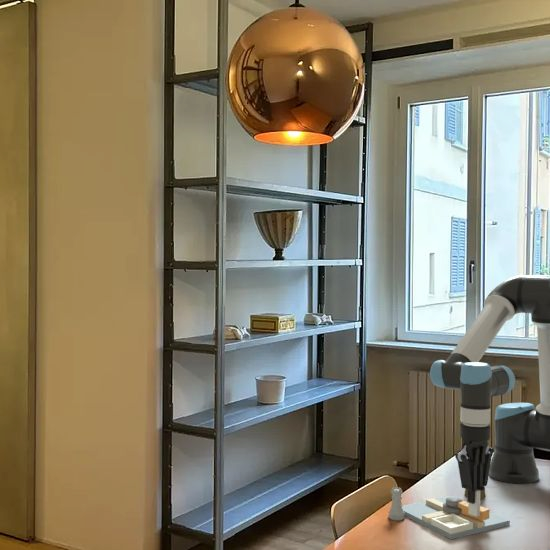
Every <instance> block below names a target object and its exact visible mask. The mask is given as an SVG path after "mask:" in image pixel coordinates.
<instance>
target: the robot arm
mask: <svg viewBox="0 0 550 550" xmlns="http://www.w3.org/2000/svg"><path fill="white" fill-rule="evenodd" d="M522 313H524V314H530V315H531V316H530V317H531V322H532V323H533V324H534V325H535V326H536V329H537V331H536V332H537V333H536V334H537V350H538V352H537V353H538V354H537V355H538V375H539V396H540V403H539V404H537V405H536V407H535V405H534V404H533V403H531V402H509V403H503V404H499V405H498V406H496V408H495V412H494V414H495V415H494V419H493V420H494V448H493V447H490V446H489V442H488V441H490V439H491V425H490V423H492V417H491V415H492V414H491V412H492V410H491V409H492V407H491V406H492V405H491V402H492V401H491V400H492V399H491V398H493V397H497V396H502V395H506V393H510V392H511V391H513V389H514V387H515V385H516V376H515V374H514V372H513V370H512V369H511V368H510V367H507V366H505V365H493V366H491V365H490V364H489V363H487V362H480V361H481V360H482V358H483V357H484V354H485V353H486V351H488V348H489V347H490V346H491V344H492V343H493V341H494V340H495V338H496V336H497V335H498V333H499V332H500V331H501V329H502V328H503V326H504V325H505V323H506V322H507V321H510V320H511V319H513V318H514V316H515V315H517V314H522ZM457 343H458V344H457V345H456V346H455V348H454V349H453V351H452V352H451V353H450V355H449V356H448V357H447V359H446V360H444V359H438V360H436V361H434V362H433V363H432V365H431V367H430V371H429V378H430V380H431V383H432V384H433V385H434V386H436V387H439V388H443V389H446V390H456V391H457V390H458V391H460V416H459V417H460V419H459V421H460V424H459V436H460V438H461V439H462V445H461V450H460V452H459V453H458V452H456V453H455V454H454V457H455V459H456V461H457V466H458V472H459V478H460V485H461V488H462V489H464V490H465V489H467V490H468V498H467V502H468V514H470V515H473V516H476V517H478V516H480V506H481V501H482V499H481V490H483V491H484V490H485V491H486V486H487V485H488V482H489V481H488V480H489V477H490V478H492V479H494V480H497V481H501V482H505V483H511V484H532V483H535V482H537V481H539V478H540V471H539V469H538V468H537V462H536V459H535V455H534V449H537V450H541V451H546V452H550V274H519V275H515V276H511V277H509V278H507V279H506V280H504V281H503V282H502V283H500V284H498V285H497V286H495V287H494V288H493V289H492V290H491V292H489V293H488V295H487V296H486V297H485V300H484V301H483V308H482V310H480V313H479V314H477V316H476V318H475V319H474V320H473V322H472V323H471V325H470V326H469V328H467V330H466V332H465V334H463V336H462V338H461V339H460V341H459V342H457ZM483 486H484V487H485V488H484V487H483Z"/></svg>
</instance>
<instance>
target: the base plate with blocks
mask: <svg viewBox="0 0 550 550" xmlns="http://www.w3.org/2000/svg"><path fill="white" fill-rule="evenodd" d="M448 497H455V496H454V495H447V496H443V497H438V498H433V497H432V498H428V499H427V498H426V500H424V501H418V502H414V503H409V504H404V505H402V508H403V511H404V513H405V514H404V516H405V518H408V519H411V520H412V521H414V522H417V523H418V524H419V525H422V526H424V527H427V528H428V529H430V530H432V531H434V532H436V533H438V534H440V535H442V536H444V537H446V538H448V539H450V540H454V539H458V538H462V537H467V536H470V535H474V534H478V533H479V534H480V533H482V532H486V531H487V532H488V531H491V530H495V529H500V528H503V527H506V526H510V520H509V519H507V518H505V517H504V516H500V515H498V514H496V513H494V512H492V511H489V519H487V520H484V521H482V520H479V519H476V518H473V517H470V516H467V515H464V514H461V512H462V509H461V508H453V507H449V506H447V505H446V498H448ZM462 500H463V499H462ZM463 501H464V502H467V500H463ZM449 514H455V515H457V516H459V517H462V518H464V519H466V520H468V521H470V522H472V523H473V529H470V530H466V531H462V532H458V533H453V534H450V533H448V532H446V531H444V530H442V529H440V528H438V527H436V526H434V525H432V524H431V518H435V517H440V516H444V515H449Z"/></svg>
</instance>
